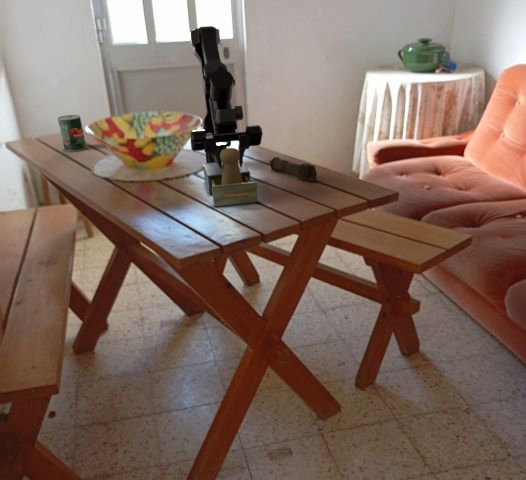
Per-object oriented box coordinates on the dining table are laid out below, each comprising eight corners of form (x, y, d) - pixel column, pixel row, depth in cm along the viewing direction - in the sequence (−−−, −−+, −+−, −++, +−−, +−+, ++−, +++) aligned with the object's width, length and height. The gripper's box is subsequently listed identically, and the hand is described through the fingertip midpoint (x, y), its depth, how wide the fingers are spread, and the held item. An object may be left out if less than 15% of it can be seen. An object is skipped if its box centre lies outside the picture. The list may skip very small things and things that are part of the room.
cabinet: (251, 191, 156) (250, 171, 153) (209, 195, 154) (207, 175, 151) (243, 179, 166) (242, 160, 163) (204, 182, 165) (203, 163, 162)
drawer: (260, 206, 145) (259, 186, 142) (215, 210, 143) (213, 190, 140) (249, 187, 158) (248, 169, 155) (208, 191, 156) (206, 173, 154)
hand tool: (269, 171, 172) (268, 155, 170) (279, 168, 174) (279, 153, 172) (308, 185, 159) (308, 168, 157) (319, 182, 161) (319, 165, 158)
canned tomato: (83, 151, 203) (76, 118, 197) (61, 151, 203) (54, 119, 197) (89, 145, 210) (82, 114, 204) (68, 146, 210) (61, 115, 204)
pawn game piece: (229, 196, 147) (226, 153, 141) (216, 190, 151) (213, 148, 145) (247, 191, 150) (245, 149, 144) (235, 185, 154) (232, 144, 148)
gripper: (186, 97, 140) (195, 153, 137) (259, 91, 143) (269, 147, 140) (187, 123, 151) (195, 176, 148) (255, 118, 153) (264, 170, 151)
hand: (231, 167), depth 146 cm, fingers closed on pawn game piece, 5 cm apart
